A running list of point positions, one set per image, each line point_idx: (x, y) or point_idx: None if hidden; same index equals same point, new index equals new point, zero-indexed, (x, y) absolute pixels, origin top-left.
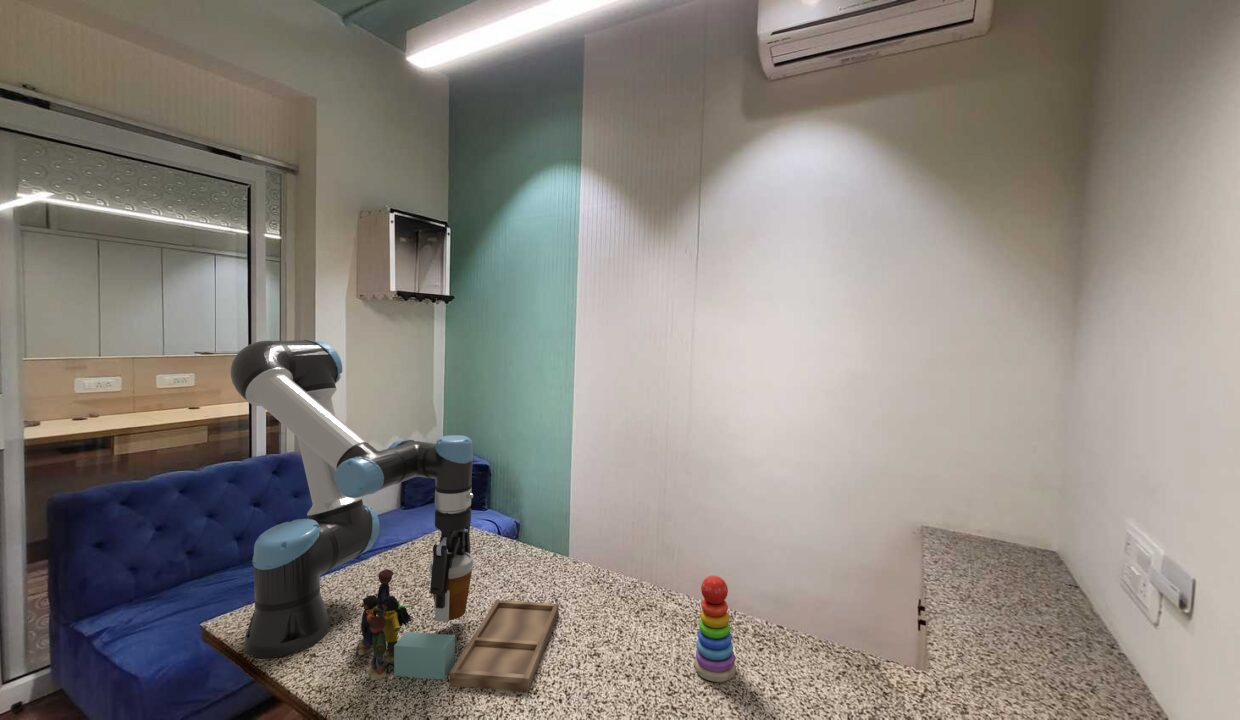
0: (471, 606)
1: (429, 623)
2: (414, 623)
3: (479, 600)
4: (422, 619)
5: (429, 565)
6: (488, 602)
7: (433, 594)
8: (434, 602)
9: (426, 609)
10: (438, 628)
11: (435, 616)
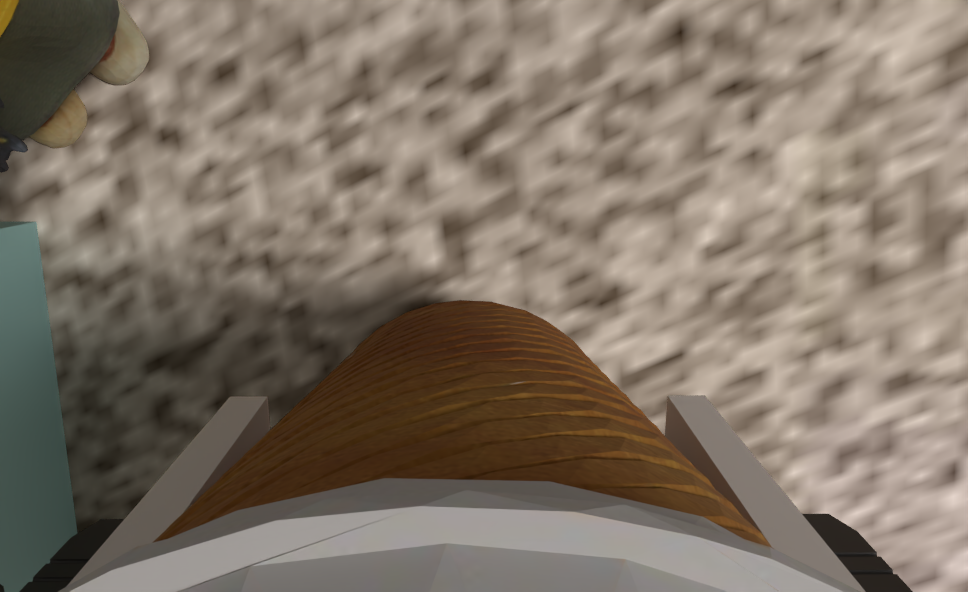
0: (818, 407)
1: (537, 161)
2: (524, 21)
3: (916, 436)
4: (593, 65)
5: (258, 534)
6: (882, 518)
7: (316, 392)
8: (341, 366)
9: (761, 20)
10: (473, 273)
11: (216, 418)
